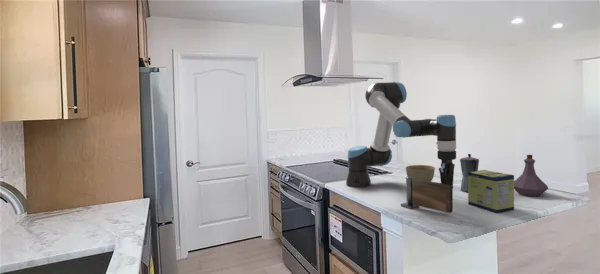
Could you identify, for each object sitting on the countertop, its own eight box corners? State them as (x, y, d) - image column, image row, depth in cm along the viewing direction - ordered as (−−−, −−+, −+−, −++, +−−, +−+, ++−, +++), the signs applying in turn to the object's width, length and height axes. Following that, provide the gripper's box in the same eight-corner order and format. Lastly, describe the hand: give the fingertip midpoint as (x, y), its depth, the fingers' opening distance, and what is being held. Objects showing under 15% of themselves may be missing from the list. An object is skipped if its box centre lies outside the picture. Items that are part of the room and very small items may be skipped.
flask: (517, 188, 178) (518, 152, 176) (554, 194, 165) (555, 154, 163) (504, 194, 168) (504, 155, 167) (542, 200, 155) (542, 158, 154)
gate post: (400, 206, 156) (400, 176, 155) (409, 203, 159) (409, 175, 158) (410, 209, 151) (410, 179, 150) (419, 206, 154) (419, 177, 153)
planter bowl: (403, 182, 203) (403, 165, 202) (431, 182, 201) (430, 164, 200) (408, 189, 187) (408, 170, 186) (438, 188, 185) (438, 169, 184)
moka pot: (473, 187, 184) (473, 152, 183) (486, 194, 169) (486, 156, 167) (455, 187, 185) (455, 152, 184) (467, 194, 170) (467, 156, 168)
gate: (415, 203, 154) (414, 179, 153) (452, 211, 140) (452, 185, 139) (412, 204, 152) (411, 180, 151) (449, 213, 138) (449, 186, 137)
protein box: (484, 201, 158) (484, 169, 157) (514, 210, 143) (515, 175, 142) (467, 204, 154) (467, 171, 153) (496, 213, 140) (497, 177, 139)
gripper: (443, 148, 151) (444, 198, 153) (432, 151, 142) (433, 205, 144) (460, 148, 146) (461, 200, 148) (450, 152, 137) (451, 207, 139)
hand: (447, 202), depth 146 cm, fingers closed
